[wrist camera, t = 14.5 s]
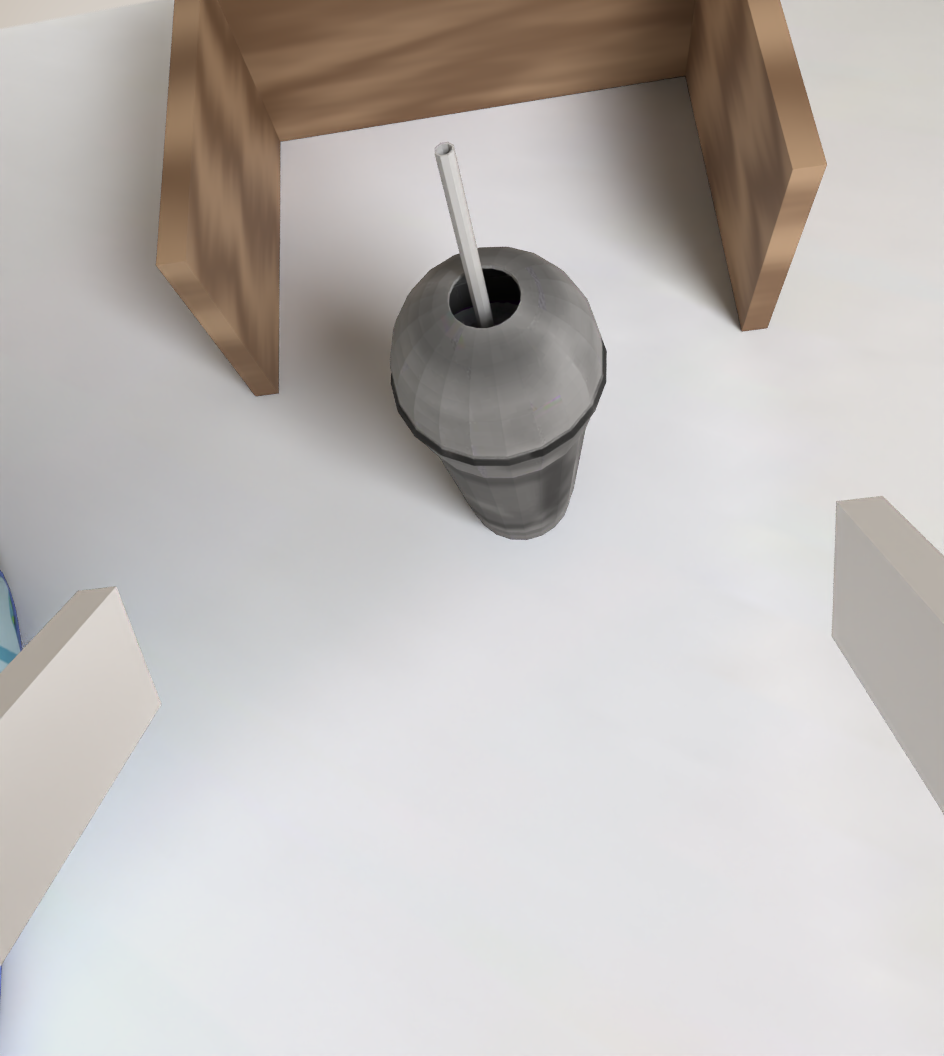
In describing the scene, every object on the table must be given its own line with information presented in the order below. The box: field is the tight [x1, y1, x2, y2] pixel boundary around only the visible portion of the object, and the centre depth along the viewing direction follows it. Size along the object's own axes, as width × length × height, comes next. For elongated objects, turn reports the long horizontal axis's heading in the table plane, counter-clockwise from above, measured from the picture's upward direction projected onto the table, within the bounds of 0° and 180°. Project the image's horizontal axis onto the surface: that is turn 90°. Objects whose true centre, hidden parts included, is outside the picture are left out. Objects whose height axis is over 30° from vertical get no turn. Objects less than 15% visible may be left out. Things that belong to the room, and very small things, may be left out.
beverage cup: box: [390, 142, 607, 540], centre depth 29 cm, size 7×7×20 cm
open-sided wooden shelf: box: [156, 0, 827, 396], centre depth 39 cm, size 18×25×10 cm
